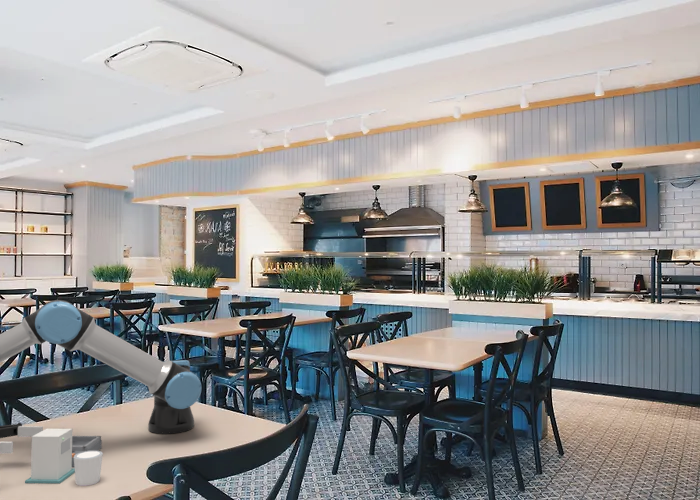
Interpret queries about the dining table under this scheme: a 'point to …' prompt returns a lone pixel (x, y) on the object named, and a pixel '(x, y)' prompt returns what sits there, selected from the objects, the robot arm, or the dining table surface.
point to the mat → (51, 480)
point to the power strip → (85, 444)
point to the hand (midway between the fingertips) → (27, 439)
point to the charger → (51, 454)
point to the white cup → (87, 467)
